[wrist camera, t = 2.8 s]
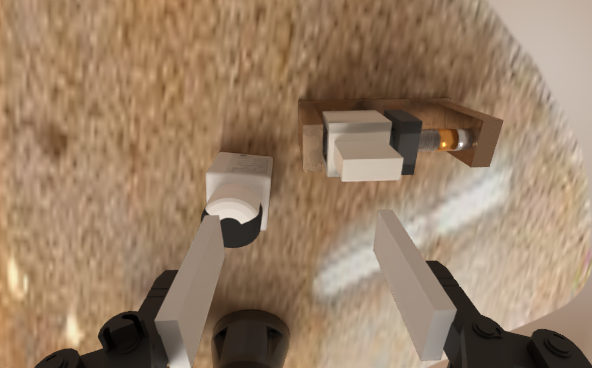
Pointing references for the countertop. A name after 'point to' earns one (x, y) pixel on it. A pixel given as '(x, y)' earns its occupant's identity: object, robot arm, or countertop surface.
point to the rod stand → (434, 135)
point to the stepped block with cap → (360, 147)
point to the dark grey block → (405, 137)
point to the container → (239, 195)
